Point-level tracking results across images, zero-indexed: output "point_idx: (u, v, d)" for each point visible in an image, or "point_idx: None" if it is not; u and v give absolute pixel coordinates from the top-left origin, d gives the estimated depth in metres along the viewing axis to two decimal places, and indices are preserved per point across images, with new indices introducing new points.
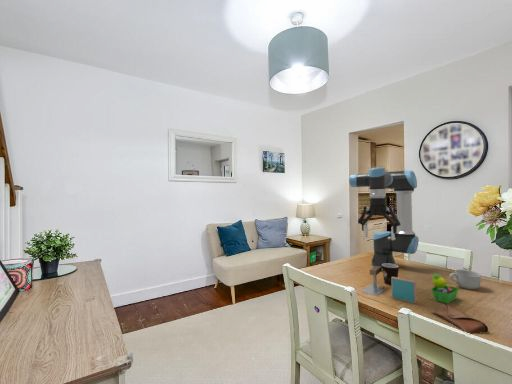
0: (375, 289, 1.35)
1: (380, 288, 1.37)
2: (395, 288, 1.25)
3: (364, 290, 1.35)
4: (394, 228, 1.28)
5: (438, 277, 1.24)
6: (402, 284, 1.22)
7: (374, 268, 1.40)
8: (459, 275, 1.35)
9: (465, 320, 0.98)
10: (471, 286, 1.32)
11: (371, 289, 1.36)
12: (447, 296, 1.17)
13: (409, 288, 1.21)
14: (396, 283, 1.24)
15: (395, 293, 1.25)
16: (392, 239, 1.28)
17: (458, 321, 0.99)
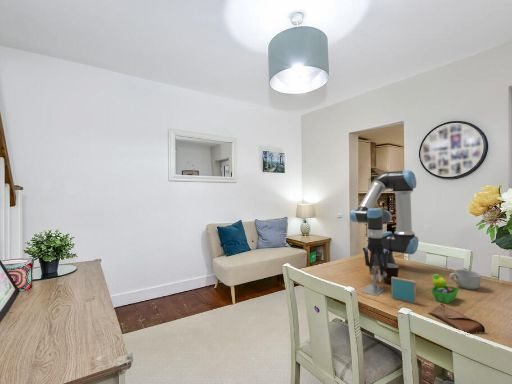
0: (375, 289, 1.35)
1: (380, 288, 1.37)
2: (395, 288, 1.25)
3: (364, 290, 1.35)
4: (381, 270, 1.37)
5: (438, 277, 1.24)
6: (402, 284, 1.22)
7: (374, 267, 1.40)
8: (459, 275, 1.35)
9: (462, 321, 0.98)
10: (471, 286, 1.32)
11: (371, 289, 1.36)
12: (447, 296, 1.17)
13: (409, 288, 1.21)
14: (396, 283, 1.24)
15: (395, 293, 1.25)
16: (379, 281, 1.37)
17: (455, 321, 0.99)
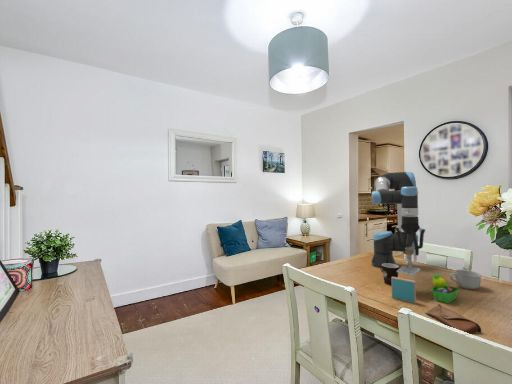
0: (411, 269, 1.31)
1: (415, 268, 1.32)
2: (395, 288, 1.25)
3: (399, 270, 1.30)
4: (416, 250, 1.32)
5: (438, 277, 1.24)
6: (402, 284, 1.22)
7: (409, 248, 1.35)
8: (459, 275, 1.35)
9: (458, 321, 0.98)
10: (471, 286, 1.32)
11: (406, 269, 1.31)
12: (447, 296, 1.17)
13: (409, 288, 1.21)
14: (396, 283, 1.24)
15: (395, 293, 1.25)
16: (414, 261, 1.33)
17: (452, 321, 0.98)
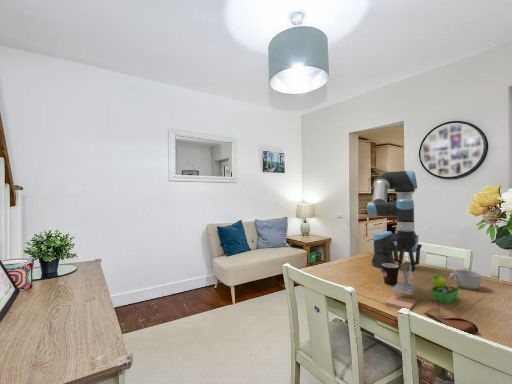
0: (406, 287, 1.24)
1: (412, 286, 1.25)
2: None
3: (395, 288, 1.23)
4: (412, 266, 1.26)
5: (438, 277, 1.24)
6: None
7: (405, 264, 1.28)
8: (459, 275, 1.35)
9: (455, 321, 0.98)
10: (471, 286, 1.32)
11: (401, 287, 1.24)
12: (447, 296, 1.17)
13: None
14: None
15: None
16: (410, 278, 1.26)
17: (449, 321, 0.98)
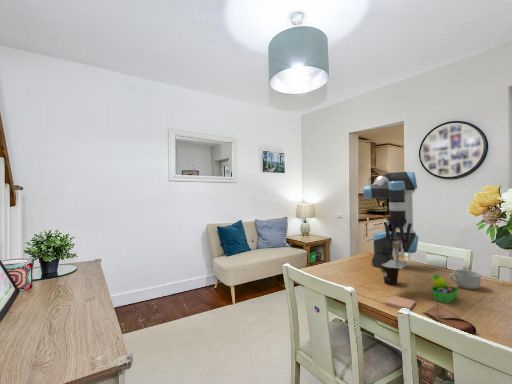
0: (398, 263, 1.32)
1: (403, 262, 1.33)
2: None
3: (387, 264, 1.31)
4: (403, 244, 1.34)
5: (438, 277, 1.24)
6: None
7: (396, 242, 1.36)
8: (459, 275, 1.35)
9: (453, 321, 0.98)
10: (471, 286, 1.32)
11: (393, 263, 1.32)
12: (447, 296, 1.17)
13: None
14: None
15: None
16: (401, 255, 1.34)
17: (447, 321, 0.99)
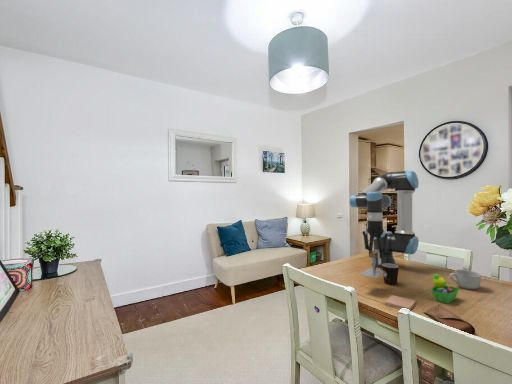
0: (374, 272, 1.35)
1: (379, 271, 1.36)
2: None
3: (363, 272, 1.34)
4: (380, 253, 1.37)
5: (438, 277, 1.24)
6: None
7: (374, 251, 1.39)
8: (459, 275, 1.35)
9: (452, 321, 0.98)
10: (471, 286, 1.32)
11: (370, 272, 1.36)
12: (447, 296, 1.17)
13: None
14: None
15: None
16: (379, 264, 1.37)
17: (446, 321, 0.99)
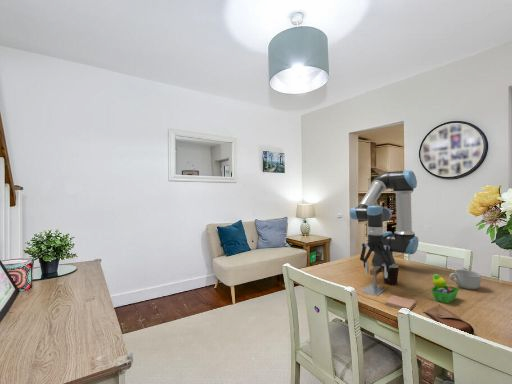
0: (375, 289, 1.35)
1: (380, 288, 1.37)
2: None
3: (364, 290, 1.35)
4: (387, 267, 1.35)
5: (438, 277, 1.24)
6: None
7: (375, 268, 1.40)
8: (459, 275, 1.35)
9: (451, 321, 0.98)
10: (471, 286, 1.32)
11: (371, 289, 1.36)
12: (447, 296, 1.17)
13: None
14: None
15: None
16: (385, 277, 1.35)
17: (445, 321, 0.99)
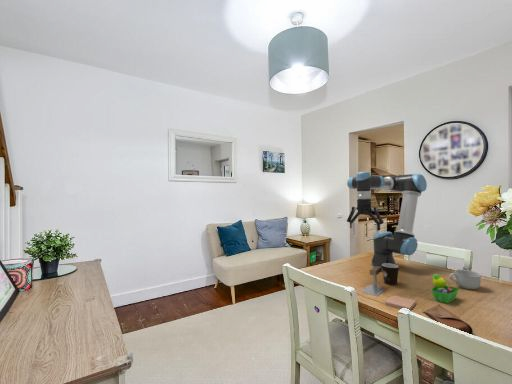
0: (375, 289, 1.35)
1: (380, 288, 1.37)
2: None
3: (364, 290, 1.35)
4: (378, 226, 1.44)
5: (438, 277, 1.24)
6: None
7: (374, 268, 1.40)
8: (459, 275, 1.35)
9: (450, 320, 0.98)
10: (471, 286, 1.32)
11: (371, 289, 1.36)
12: (447, 296, 1.17)
13: None
14: None
15: None
16: (376, 235, 1.44)
17: (444, 320, 0.99)
